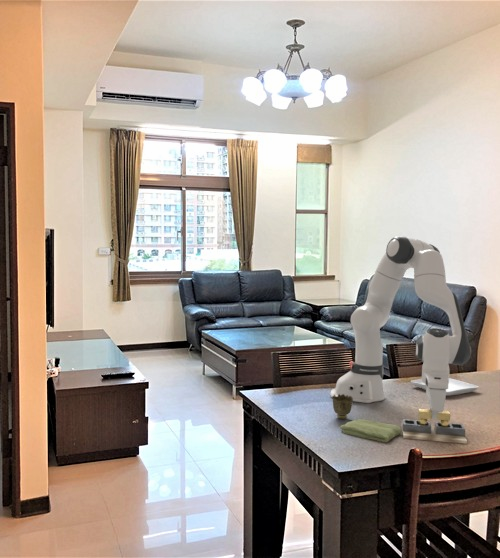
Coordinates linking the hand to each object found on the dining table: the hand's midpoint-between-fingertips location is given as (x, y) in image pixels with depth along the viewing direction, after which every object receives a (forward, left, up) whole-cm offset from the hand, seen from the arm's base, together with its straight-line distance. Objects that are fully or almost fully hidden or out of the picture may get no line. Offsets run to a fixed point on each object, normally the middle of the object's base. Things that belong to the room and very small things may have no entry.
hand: (433, 417), depth 192 cm
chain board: (0, 0, -6) cm, 6 cm away
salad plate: (+11, +61, -6) cm, 62 cm away
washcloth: (-21, -4, -6) cm, 22 cm away
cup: (-31, +9, -6) cm, 33 cm away
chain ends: (0, 0, -6) cm, 6 cm away
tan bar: (0, 0, -4) cm, 4 cm away
